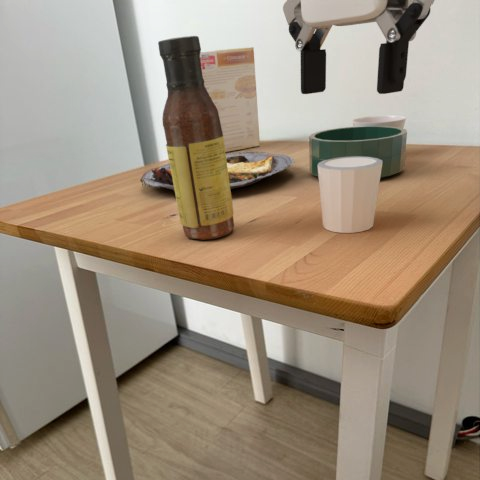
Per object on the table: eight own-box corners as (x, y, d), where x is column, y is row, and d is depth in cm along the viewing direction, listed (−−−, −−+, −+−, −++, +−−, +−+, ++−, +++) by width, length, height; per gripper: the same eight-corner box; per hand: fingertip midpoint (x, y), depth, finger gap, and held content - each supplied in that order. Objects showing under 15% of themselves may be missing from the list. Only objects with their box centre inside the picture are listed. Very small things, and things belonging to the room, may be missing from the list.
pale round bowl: (353, 152, 91) (354, 117, 88) (402, 150, 88) (405, 114, 85) (349, 162, 83) (350, 123, 80) (403, 160, 81) (406, 121, 78)
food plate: (115, 196, 75) (110, 174, 74) (189, 165, 93) (187, 146, 91) (258, 203, 65) (256, 177, 63) (311, 166, 83) (310, 145, 81)
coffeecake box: (245, 143, 111) (237, 48, 102) (261, 146, 106) (255, 46, 96) (187, 153, 105) (174, 53, 96) (201, 157, 100) (189, 51, 90)
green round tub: (349, 160, 85) (350, 124, 82) (422, 168, 75) (426, 128, 72) (291, 176, 77) (290, 137, 74) (363, 188, 67) (365, 144, 64)
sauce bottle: (240, 224, 57) (223, 34, 48) (227, 242, 52) (206, 32, 42) (189, 224, 59) (163, 40, 49) (172, 242, 54) (139, 40, 44)
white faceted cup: (327, 214, 58) (328, 155, 55) (384, 217, 55) (389, 155, 52) (309, 232, 53) (308, 168, 49) (371, 237, 50) (375, 169, 46)
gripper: (483, -170, 35) (450, 88, 43) (312, -101, 47) (311, 90, 55) (425, -192, 31) (401, 96, 39) (255, -110, 43) (263, 96, 51)
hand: (348, 92), depth 47 cm, fingers open, 9 cm apart
